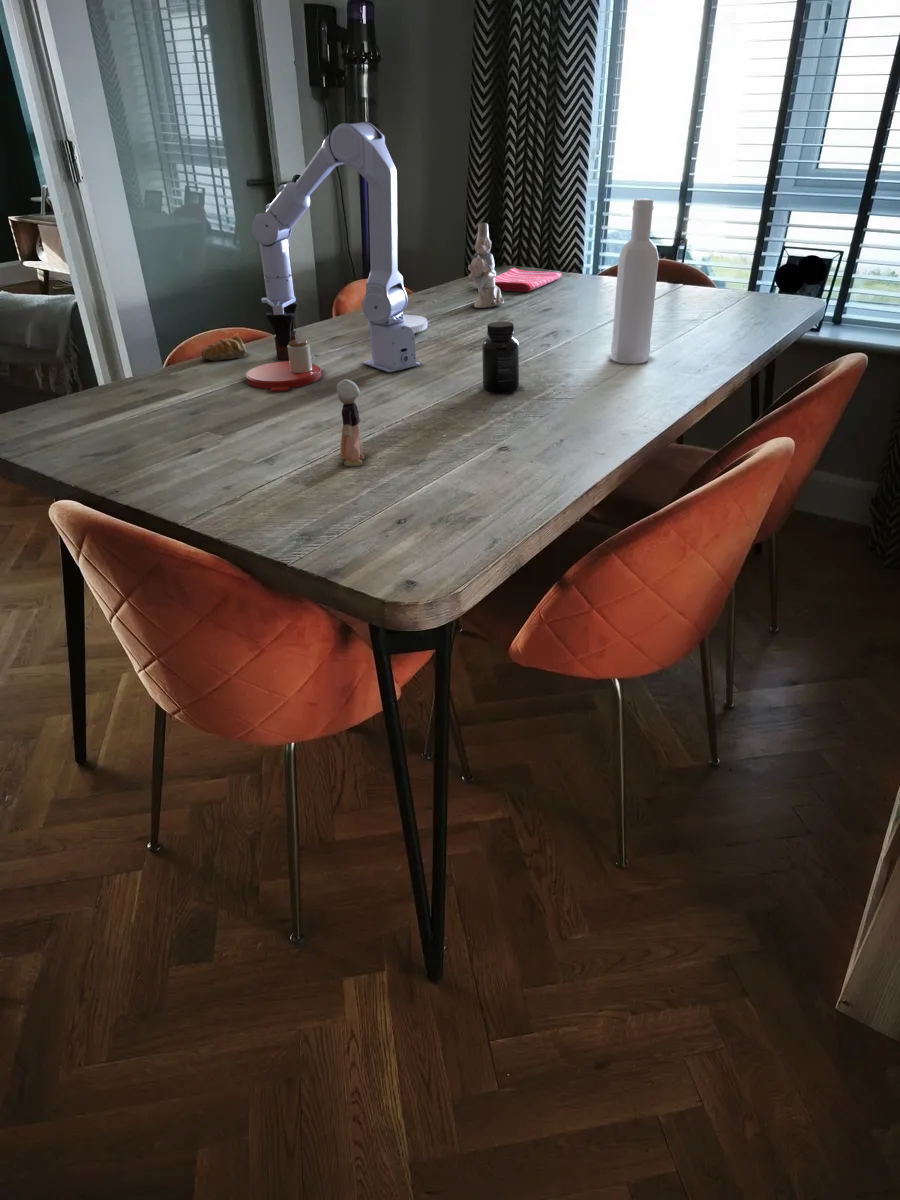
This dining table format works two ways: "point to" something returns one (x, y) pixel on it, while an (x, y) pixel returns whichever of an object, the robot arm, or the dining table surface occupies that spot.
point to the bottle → (635, 290)
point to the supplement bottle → (500, 359)
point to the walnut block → (283, 351)
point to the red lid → (280, 376)
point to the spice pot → (299, 356)
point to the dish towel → (524, 279)
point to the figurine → (484, 271)
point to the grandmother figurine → (350, 424)
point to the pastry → (225, 349)
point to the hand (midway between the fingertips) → (286, 342)
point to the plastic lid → (415, 323)
